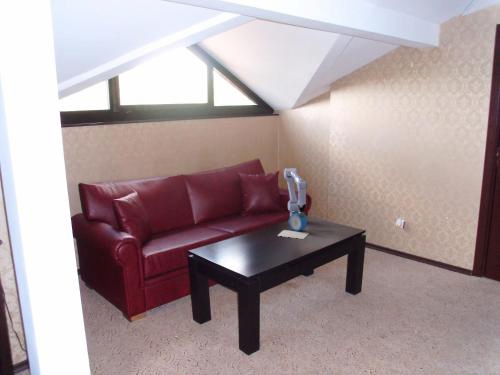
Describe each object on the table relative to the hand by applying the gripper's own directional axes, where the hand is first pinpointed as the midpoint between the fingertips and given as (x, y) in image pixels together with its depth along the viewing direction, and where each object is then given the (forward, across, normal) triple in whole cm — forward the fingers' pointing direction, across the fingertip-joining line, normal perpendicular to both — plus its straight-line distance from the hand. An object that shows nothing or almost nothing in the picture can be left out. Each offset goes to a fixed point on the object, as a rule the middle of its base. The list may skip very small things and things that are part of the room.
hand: (301, 214), depth 318 cm
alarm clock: (+10, +10, -2) cm, 15 cm away
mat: (+10, +20, -4) cm, 23 cm away
